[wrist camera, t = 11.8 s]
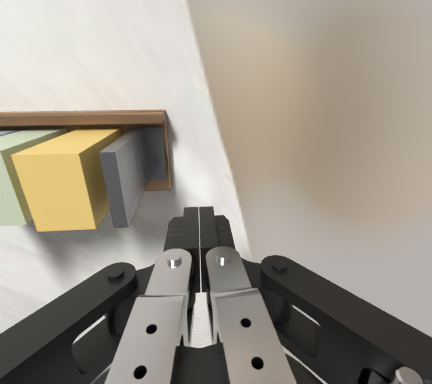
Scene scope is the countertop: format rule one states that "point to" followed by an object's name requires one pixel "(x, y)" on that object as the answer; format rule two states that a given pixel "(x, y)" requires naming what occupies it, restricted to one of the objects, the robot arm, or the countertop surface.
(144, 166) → the bookend
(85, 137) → the book ochre
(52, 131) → the book sage
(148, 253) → the countertop surface
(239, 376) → the robot arm
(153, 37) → the countertop surface
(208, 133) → the countertop surface
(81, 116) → the book trough
